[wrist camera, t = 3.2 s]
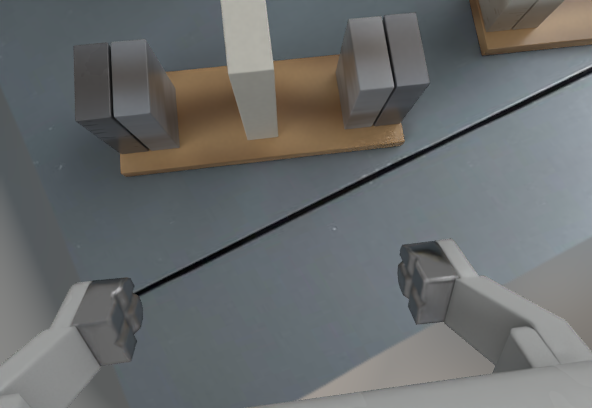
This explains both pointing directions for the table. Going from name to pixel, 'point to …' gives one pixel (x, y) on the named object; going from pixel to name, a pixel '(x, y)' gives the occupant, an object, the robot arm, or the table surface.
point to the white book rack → (531, 24)
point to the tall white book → (251, 65)
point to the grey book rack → (224, 111)
